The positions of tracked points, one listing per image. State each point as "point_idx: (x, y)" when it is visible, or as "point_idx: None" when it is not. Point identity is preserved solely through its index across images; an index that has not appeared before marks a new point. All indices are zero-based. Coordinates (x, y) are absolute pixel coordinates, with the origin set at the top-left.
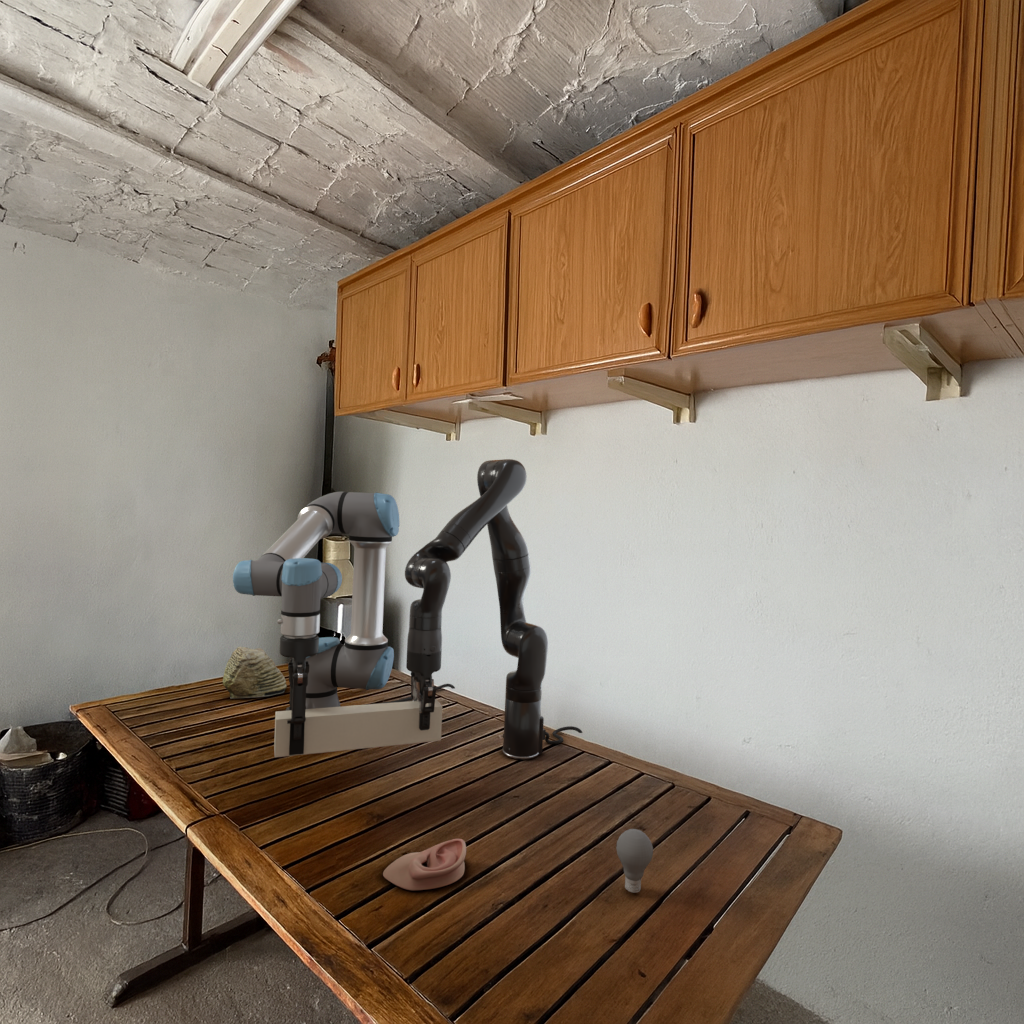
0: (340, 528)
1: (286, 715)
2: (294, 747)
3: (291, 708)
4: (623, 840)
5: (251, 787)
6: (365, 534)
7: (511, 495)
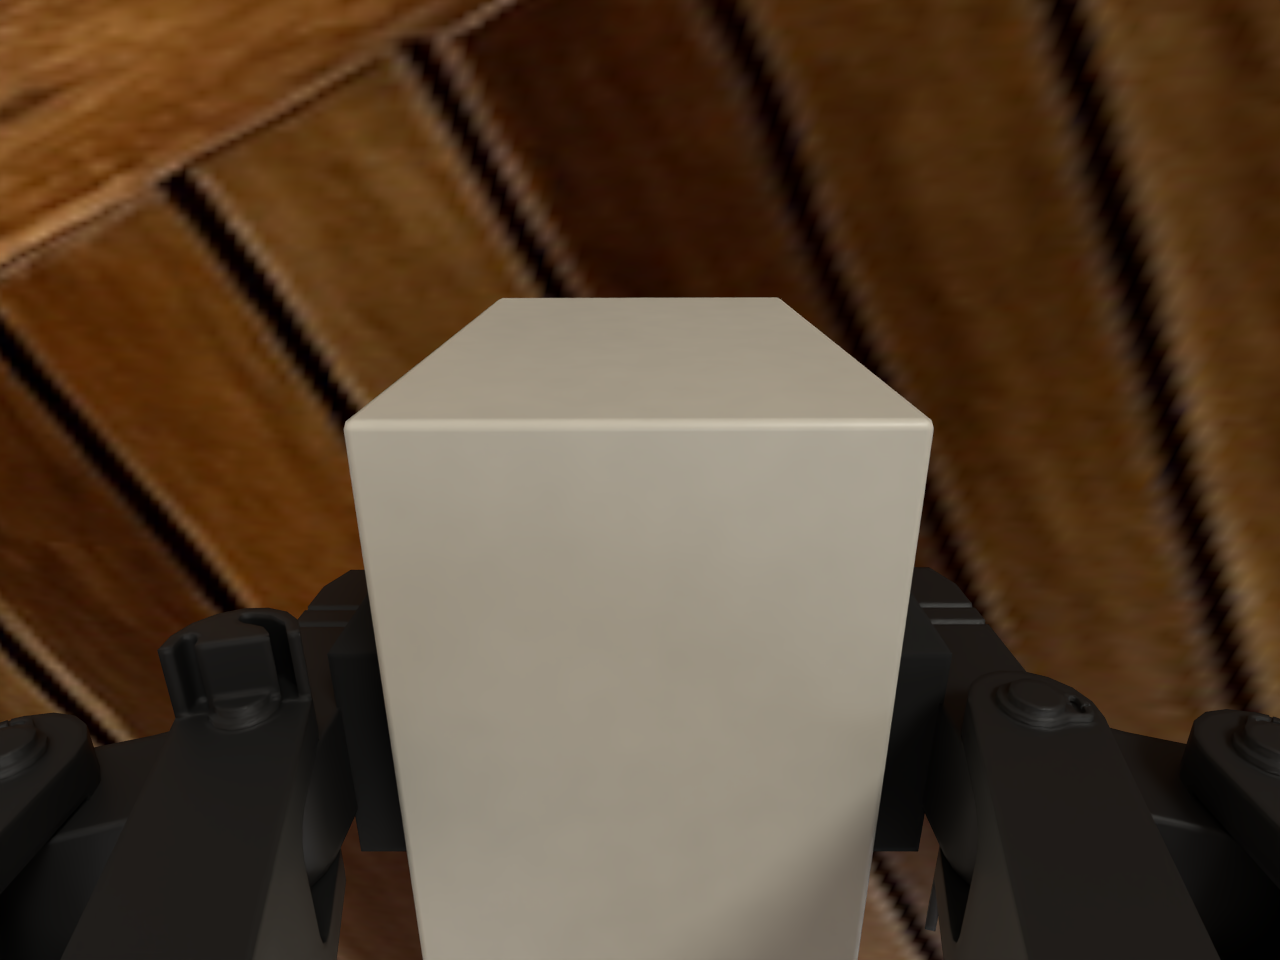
0: None
1: (578, 630)
2: None
3: (970, 734)
4: None
5: (1010, 105)
6: None
7: None
